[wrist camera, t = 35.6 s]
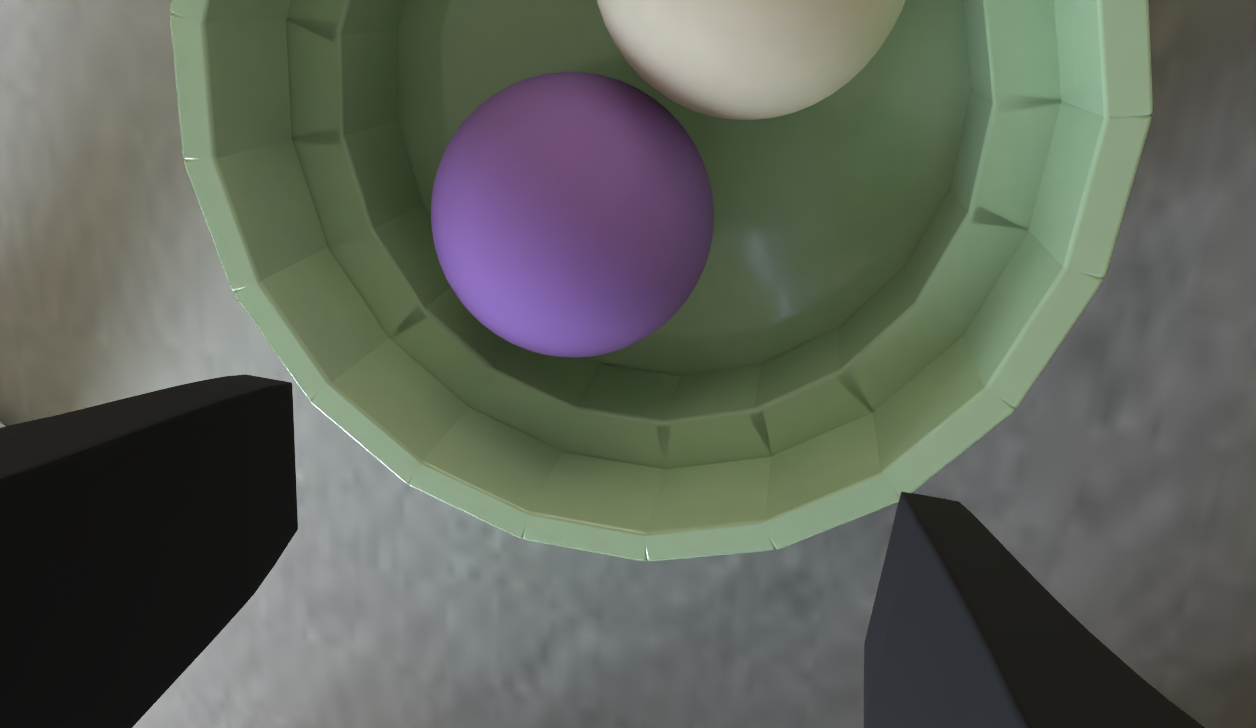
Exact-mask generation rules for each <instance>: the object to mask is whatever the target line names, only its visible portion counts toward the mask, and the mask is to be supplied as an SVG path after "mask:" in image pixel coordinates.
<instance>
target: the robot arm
mask: <svg viewBox="0 0 1256 728" xmlns="http://www.w3.org/2000/svg"><path fill="white" fill-rule="evenodd" d="M297 529H298V522H297V497H296V472H295V447H294V421H293V396H292V383H290V382H284V381H279V380H273V379H267V378H262V377H256V376H251V375H237V376H227V377H220V378H214V379H209V380H203V381H198V382H194V383H189V384H184V385H180V386H175V387H171V388H167V389H163V390H158V391H154V392H150V393H146V394H142V395H138V396H134V397H130V398H125V399H121V400H117V401H113V402H109V403H105V404H101V405H97V406H93V407H89V408H85V409H81V410H77V411H73V412H68V413H64V414H60V415H55V416H51V417H46V418H42V419H37V420H33V421H28V422H24V423H19V424H15V425H10V426H6V427H1V428H0V728H132V727H133V726H134V725H135V724H136V723H137V722H138V720H139V719H140V718H141V717H142V716H143V715H144V714H145V713H146V712H147V711H148V710H149V709H150V707H151V706H152V705H153V704H154V703H155V702H156V701H157V700H158V699H159V698H160V697H161V696H162V694H163V693H164V692H165V691H166V690H167V689H168V688H169V687H170V686H171V685H172V684H173V683H174V681H175V680H176V679H177V678H178V677H179V676H180V675H181V674H182V673H183V672H184V671H185V670H186V668H187V667H188V666H189V665H190V664H191V663H192V662H193V661H194V660H195V659H196V658H197V657H198V656H199V654H200V653H201V652H202V651H203V650H204V649H205V648H206V647H207V646H208V645H209V644H210V643H211V641H212V640H213V639H214V638H215V637H216V636H217V635H218V634H219V633H220V631H221V630H222V629H223V628H224V627H225V626H226V625H227V624H228V623H229V621H230V620H231V619H232V618H233V617H234V616H235V615H236V614H237V613H238V612H239V610H240V609H241V608H242V607H243V606H244V605H245V604H246V602H247V601H248V600H249V599H250V598H251V597H252V596H253V594H254V593H255V592H256V590H257V589H258V588H259V586H260V585H261V583H262V582H263V581H264V579H265V578H266V576H267V575H268V573H269V572H270V571H271V569H272V568H273V566H274V565H275V563H276V562H277V560H278V559H279V557H280V556H281V554H282V553H283V551H284V550H285V548H286V546H287V545H288V543H289V542H290V540H291V539H292V537H293V536H294V534H295V533H296V531H297ZM864 728H1205V727H1203V726H1202V725H1201V724H1199V723H1198V722H1197V721H1196V720H1194V719H1193V718H1192V717H1190V716H1189V715H1188V714H1186V713H1185V712H1184V711H1182V710H1181V709H1180V708H1178V707H1177V706H1176V705H1175V704H1173V703H1172V702H1171V701H1169V700H1168V699H1167V698H1166V697H1164V696H1163V695H1162V694H1161V693H1159V692H1158V691H1157V690H1156V689H1155V688H1153V687H1152V686H1151V685H1150V684H1148V683H1147V682H1146V681H1145V680H1144V679H1142V678H1141V677H1140V676H1139V675H1138V674H1137V673H1135V672H1134V671H1133V670H1132V669H1131V668H1130V667H1129V666H1127V665H1126V664H1125V663H1124V662H1123V661H1122V660H1121V659H1120V658H1118V657H1117V656H1116V655H1115V654H1114V653H1113V652H1112V651H1111V650H1109V649H1108V648H1107V647H1106V646H1105V645H1104V644H1103V643H1102V642H1100V641H1099V640H1098V639H1097V638H1096V637H1095V636H1094V635H1092V634H1091V633H1090V632H1089V631H1088V630H1087V629H1086V628H1085V627H1084V626H1083V625H1082V624H1081V623H1080V622H1079V621H1078V620H1077V619H1075V618H1074V617H1073V616H1072V615H1071V614H1070V613H1069V612H1068V611H1067V610H1066V609H1065V608H1064V607H1063V606H1062V605H1061V604H1060V603H1059V602H1058V601H1057V600H1056V599H1055V598H1054V597H1053V596H1052V595H1051V594H1050V593H1049V592H1048V591H1047V590H1046V589H1045V588H1044V587H1043V586H1042V585H1041V584H1040V583H1039V582H1038V581H1037V580H1036V579H1035V578H1034V577H1033V576H1032V575H1031V574H1030V573H1029V572H1028V571H1027V570H1026V569H1025V568H1024V567H1023V566H1022V565H1021V564H1020V563H1019V562H1018V561H1017V560H1016V559H1015V558H1014V557H1013V556H1012V554H1011V553H1010V552H1009V551H1008V550H1007V549H1006V548H1005V547H1004V546H1003V545H1002V544H1001V543H1000V542H999V541H998V540H997V539H996V538H995V537H994V536H993V535H992V534H991V533H990V532H989V530H988V529H987V528H986V527H985V526H984V525H983V524H982V523H981V522H980V521H979V520H978V519H977V518H976V517H975V516H974V515H973V514H972V513H971V512H970V511H969V510H968V509H967V508H965V507H964V506H963V505H962V504H961V503H960V502H958V501H952V500H947V499H941V498H935V497H930V496H924V495H919V494H913V493H907V492H902V491H901V495H900V499H899V503H898V507H897V512H896V516H895V520H894V524H893V528H892V532H891V536H890V540H889V544H888V549H887V553H886V557H885V561H884V565H883V569H882V573H881V577H880V582H879V586H878V590H877V594H876V598H875V602H874V606H873V610H872V614H871V619H870V623H869V627H868V631H867V635H866V639H865V646H864Z"/></svg>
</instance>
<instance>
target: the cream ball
mask: <svg viewBox="0 0 1256 728" xmlns="http://www.w3.org/2000/svg"><path fill="white" fill-rule="evenodd" d="M597 2H598V6H599V9H600V12H601V14H602V17H603V20H604V23H605V26H606V28H607V30H608V32H609V34H610V36H611V38H612V40H613V42H614V44H615V45H616V47H617V48H618V50H619V51H620V53H621V54H622V55H623V57H624V58H625V60H626V61H627V62H628V63H629V65H630V66H631V67H632V68H633V69H634V70H635V71H636V72H637V74H638V75H639V76H640V77H641V78H642V79H643V80H644V81H645V82H647V83H648V84H649V85H650V86H651V87H653V88H654V89H655V90H656V91H657V92H659V93H660V94H662V95H663V96H665V97H666V98H668V99H670V100H671V101H673V102H674V103H676V104H679V105H681V106H683V107H685V108H687V109H689V110H692V111H695V112H698V113H701V114H705V115H708V116H711V117H718V118H724V119H731V120H760V119H769V118H775V117H779V116H783V115H787V114H791V113H794V112H797V111H799V110H802V109H804V108H807V107H809V106H812V105H814V104H816V103H817V102H819V101H821V100H823V99H825V98H826V97H828V96H830V95H832V94H833V93H834V92H836V91H837V90H839V89H840V88H841V87H843V86H844V85H845V84H847V83H848V82H849V81H850V80H851V79H852V78H854V77H855V76H856V75H857V74H858V73H859V72H860V71H861V70H862V69H863V68H864V67H865V66H866V65H867V64H868V62H869V61H870V60H871V59H872V58H873V56H874V55H875V54H876V53H877V52H878V50H879V49H880V47H881V46H882V44H883V43H884V41H885V40H886V38H887V37H888V35H889V34H890V32H891V31H892V29H893V27H894V25H895V23H896V21H897V19H898V17H899V15H900V13H901V11H902V9H903V6H904V3H905V0H597Z"/></svg>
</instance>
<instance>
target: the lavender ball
mask: <svg viewBox="0 0 1256 728" xmlns="http://www.w3.org/2000/svg"><path fill="white" fill-rule="evenodd" d="M713 225H714V207H713V196H712V190H711V186H710V181H709V177H708V174H707V171H706V168H705V165H704V163H703V160H702V157H701V155H700V154H699V152H698V150H697V148H696V146H695V144H694V142H693V140H692V139H691V137H690V136H689V135H688V133H687V132H686V130H685V129H684V127H683V126H682V125H681V124H680V123H679V121H678V120H677V119H676V118H675V117H674V116H673V115H672V114H671V113H670V112H669V111H668V110H667V109H666V108H665V107H664V106H662V105H661V104H660V103H659V102H658V101H656V100H655V99H654V98H652V97H651V96H649V95H648V94H646V93H644V92H643V91H641V90H640V89H638V88H636V87H634V86H631V85H629V84H627V83H625V82H623V81H620V80H617V79H614V78H610V77H607V76H604V75H599V74H592V73H586V72H557V73H549V74H543V75H539V76H535V77H531V78H527V79H525V80H522V81H520V82H517V83H515V84H512V85H510V86H508V87H506V88H504V89H503V90H501V91H499V92H498V93H496V94H494V95H492V96H491V97H490V98H489V99H487V100H486V101H485V102H483V103H482V104H481V105H480V106H478V107H477V108H476V109H475V110H474V111H473V112H472V113H471V114H470V115H469V116H468V117H467V118H466V119H465V121H464V122H463V123H462V124H461V126H460V127H459V129H458V130H457V131H456V133H455V134H454V135H453V137H452V139H451V141H450V142H449V144H448V146H447V148H446V150H445V152H444V154H443V156H442V159H441V161H440V164H439V167H438V169H437V173H436V177H435V181H434V186H433V191H432V201H431V227H432V233H433V240H434V246H435V249H436V253H437V256H438V259H439V263H440V265H441V268H442V270H443V272H444V274H445V277H446V279H447V281H448V283H449V284H450V286H451V288H452V289H453V291H454V293H455V294H456V296H457V297H458V299H459V300H460V301H461V302H462V304H463V305H464V306H465V307H466V309H467V310H468V311H469V312H470V313H471V314H472V315H473V316H474V317H475V318H476V319H477V320H478V321H479V322H480V323H481V324H483V325H484V326H485V327H487V328H488V329H489V330H490V331H492V332H493V333H494V334H496V335H498V336H499V337H501V338H503V339H505V340H506V341H508V342H510V343H512V344H514V345H517V346H519V347H521V348H524V349H526V350H529V351H533V352H536V353H540V354H543V355H549V356H556V357H569V358H582V357H591V356H599V355H603V354H607V353H611V352H615V351H618V350H620V349H623V348H625V347H628V346H631V345H633V344H635V343H636V342H638V341H640V340H642V339H644V338H646V337H647V336H649V335H650V334H652V333H653V332H654V331H656V330H657V329H659V328H660V327H661V326H663V325H664V324H665V323H666V322H667V321H668V320H669V319H670V318H671V317H672V316H673V315H674V314H676V312H677V311H678V310H679V309H680V308H681V306H682V305H683V304H684V303H685V302H686V300H687V299H688V297H689V296H690V294H691V293H692V291H693V289H694V288H695V286H696V285H697V283H698V281H699V278H700V276H701V274H702V272H703V270H704V268H705V264H706V261H707V258H708V255H709V252H710V247H711V241H712V236H713Z"/></svg>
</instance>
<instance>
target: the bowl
mask: <svg viewBox="0 0 1256 728" xmlns="http://www.w3.org/2000/svg"><path fill="white" fill-rule="evenodd" d="M170 11H171V12H172V14H171V15H170V24H171V35H172V46H173V57H174V67H175V78H176V89H177V99H178V110H179V121H180V131H181V142H182V153H183V157H184V159H186V160H185V161H184V165H185V167H186V170H187V173H188V175H189V178H190V181H191V183H192V186H193V189H194V191H195V194H196V197H197V199H198V202H199V205H200V207H201V210H202V213H203V215H204V218H205V221H206V223H207V226H208V229H209V231H210V234H211V237H212V240H213V242H214V245H215V248H216V250H217V253H218V256H219V258H220V261H221V264H222V266H223V269H224V272H225V274H226V277H227V280H228V282H229V285H230V288H231V289H232V290H233V291H235V292H234V294H235V296H236V298H237V299H238V301H239V302H240V303H241V305H242V306H243V308H244V309H245V310H246V312H247V313H248V315H249V316H250V318H251V319H252V320H253V322H254V323H255V325H256V326H257V328H258V329H259V330H260V332H261V333H262V335H263V336H264V337H265V339H266V340H267V342H268V343H269V345H270V346H271V347H272V349H273V350H274V352H275V353H276V354H277V356H278V357H279V359H280V360H281V362H282V363H283V364H284V366H285V367H286V369H287V370H288V372H289V373H290V374H291V376H292V377H293V379H294V380H295V381H296V383H297V384H298V386H299V387H300V389H301V390H302V391H303V393H304V394H305V396H306V397H307V398H308V399H311V404H313V405H314V406H315V407H316V408H317V409H318V410H320V411H321V412H322V413H323V414H324V415H326V416H327V417H328V418H329V419H330V420H331V421H333V422H334V423H335V424H336V425H337V426H339V427H340V428H341V429H342V430H343V431H344V432H346V433H347V434H348V435H349V436H350V437H351V438H353V439H354V440H355V441H356V442H357V443H359V444H360V445H361V446H362V447H363V448H364V449H366V450H367V451H368V452H369V453H370V454H372V455H373V456H374V457H375V458H376V459H377V460H379V461H380V462H381V463H382V464H383V465H385V466H386V467H387V468H388V469H389V470H390V471H392V472H393V473H394V474H395V475H396V476H398V477H399V478H400V479H401V480H402V481H403V482H405V483H406V484H408V483H409V485H410V486H411V487H413V488H415V489H417V490H419V491H421V492H423V493H425V494H427V495H430V496H432V497H434V498H436V499H438V500H440V501H442V502H444V503H446V504H448V505H451V506H453V507H455V508H457V509H459V510H461V511H463V512H465V513H467V514H469V515H471V516H474V517H476V518H478V519H480V520H482V521H484V522H486V523H488V524H490V525H492V526H495V527H497V528H499V529H501V530H503V531H505V532H507V533H509V534H511V535H513V536H515V537H518V538H523V537H524V539H525V540H529V541H534V542H540V543H545V544H551V545H556V546H562V547H567V548H573V549H578V550H584V551H589V552H595V553H600V554H606V555H611V556H617V557H622V558H628V559H633V560H638V561H646V560H648V561H650V562H653V561H663V560H674V559H685V558H695V557H706V556H717V555H728V554H738V553H749V552H760V551H770V550H774V549H775V548H776V549H781V548H784V547H786V546H789V545H791V544H794V543H796V542H799V541H801V540H804V539H806V538H809V537H811V536H814V535H817V534H819V533H822V532H824V531H827V530H829V529H832V528H834V527H837V526H839V525H842V524H844V523H847V522H849V521H852V520H854V519H857V518H859V517H862V516H865V515H867V514H870V513H872V512H875V511H877V510H880V509H882V508H885V507H887V506H890V505H892V504H895V503H897V502H899V499H900V495H901V491H902V492H907V493H912V492H914V491H915V490H916V489H917V488H919V487H920V486H921V485H923V484H924V483H925V482H926V481H928V480H929V479H930V478H931V477H933V476H934V475H935V474H936V473H938V472H939V471H940V470H941V469H943V468H944V467H945V466H946V465H948V464H949V463H950V462H951V461H953V460H954V459H955V458H957V457H958V456H959V455H960V454H962V453H963V452H964V451H965V450H967V449H968V448H969V447H970V446H972V445H973V444H974V443H975V442H977V441H978V440H979V439H980V438H982V437H983V436H984V435H986V434H987V433H988V432H989V431H991V430H992V429H993V428H994V427H996V426H997V425H998V424H999V423H1001V422H1002V421H1003V420H1004V419H1006V418H1007V417H1008V416H1009V415H1011V414H1012V413H1013V412H1014V411H1015V407H1018V406H1019V405H1020V404H1021V402H1022V401H1023V399H1024V398H1025V396H1026V395H1027V393H1028V392H1029V390H1030V389H1031V388H1032V386H1033V385H1034V383H1035V382H1036V380H1037V379H1038V377H1039V376H1040V374H1041V373H1042V371H1043V370H1044V368H1045V367H1046V365H1047V364H1048V362H1049V361H1050V360H1051V358H1052V357H1053V355H1054V354H1055V352H1056V351H1057V349H1058V348H1059V346H1060V345H1061V343H1062V342H1063V340H1064V339H1065V337H1066V336H1067V335H1068V333H1069V332H1070V330H1071V329H1072V327H1073V326H1074V324H1075V323H1076V321H1077V320H1078V318H1079V317H1080V315H1081V314H1082V312H1083V311H1084V309H1085V308H1086V307H1087V305H1088V304H1089V302H1090V301H1091V299H1092V298H1093V296H1094V295H1095V293H1096V292H1097V290H1098V289H1099V287H1100V286H1101V284H1102V283H1103V279H1102V277H1105V276H1106V274H1107V272H1108V268H1109V265H1110V261H1111V258H1112V254H1113V251H1114V248H1115V244H1116V241H1117V237H1118V234H1119V230H1120V227H1121V224H1122V220H1123V217H1124V213H1125V210H1126V206H1127V203H1128V200H1129V196H1130V193H1131V189H1132V186H1133V182H1134V179H1135V175H1136V172H1137V169H1138V165H1139V162H1140V158H1141V155H1142V151H1143V148H1144V145H1145V141H1146V138H1147V134H1148V131H1149V127H1150V124H1151V121H1152V120H1151V116H1150V114H1152V112H1153V90H1152V67H1151V44H1150V21H1149V0H905V3H904V6H903V9H902V11H901V13H900V15H899V17H898V19H897V21H896V23H895V25H894V27H893V29H892V31H891V32H890V34H889V35H888V37H887V38H886V40H885V41H884V43H883V44H882V46H881V47H880V49H879V50H878V52H877V53H876V54H875V55H874V56H873V58H872V59H871V60H870V61H869V62H868V64H867V65H866V66H865V67H864V68H863V69H862V70H861V71H860V72H859V73H858V74H857V75H856V76H855V77H854V78H852V79H851V80H850V81H849V82H848V83H847V84H845V85H844V86H843V87H841V88H840V89H839V90H837V91H836V92H834V93H833V94H832V95H830V96H828V97H826V98H825V99H823V100H821V101H819V102H817V103H816V104H814V105H812V106H809V107H807V108H804V109H802V110H799V111H797V112H794V113H791V114H787V115H783V116H779V117H775V118H769V119H760V120H731V119H724V118H718V117H711V116H708V115H705V114H701V113H698V112H695V111H692V110H689V109H687V108H685V107H683V106H681V105H679V104H676V103H674V102H673V101H671V100H670V99H668V98H666V97H665V96H663V95H662V94H660V93H659V92H657V91H656V90H655V89H654V88H653V87H651V86H650V85H649V84H648V83H647V82H645V81H644V80H643V79H642V78H641V77H640V76H639V75H638V74H637V72H636V71H635V70H634V69H633V68H632V67H631V66H630V65H629V63H628V62H627V61H626V60H625V58H624V57H623V55H622V54H621V53H620V51H619V50H618V48H617V47H616V45H615V44H614V42H613V40H612V38H611V36H610V34H609V32H608V30H607V28H606V26H605V23H604V20H603V17H602V14H601V12H600V9H599V6H598V2H597V0H171V4H170ZM557 72H586V73H592V74H599V75H604V76H607V77H610V78H614V79H617V80H620V81H623V82H625V83H627V84H629V85H631V86H634V87H636V88H638V89H640V90H641V91H643V92H644V93H646V94H648V95H649V96H651V97H652V98H654V99H655V100H656V101H658V102H659V103H660V104H661V105H662V106H664V107H665V108H666V109H667V110H668V111H669V112H670V113H671V114H672V115H673V116H674V117H675V118H676V119H677V120H678V121H679V123H680V124H681V125H682V126H683V127H684V129H685V130H686V132H687V133H688V135H689V136H690V137H691V139H692V140H693V142H694V144H695V146H696V148H697V150H698V152H699V154H700V155H701V157H702V160H703V163H704V165H705V168H706V171H707V174H708V177H709V181H710V186H711V190H712V196H713V207H714V225H713V236H712V241H711V247H710V252H709V255H708V258H707V261H706V264H705V268H704V270H703V272H702V274H701V276H700V278H699V281H698V283H697V285H696V286H695V288H694V289H693V291H692V293H691V294H690V296H689V297H688V299H687V300H686V302H685V303H684V304H683V305H682V306H681V308H680V309H679V310H678V311H677V312H676V314H674V315H673V316H672V317H671V318H670V319H669V320H668V321H667V322H666V323H665V324H664V325H663V326H661V327H660V328H659V329H657V330H656V331H654V332H653V333H652V334H650V335H649V336H647V337H646V338H644V339H642V340H640V341H638V342H636V343H635V344H633V345H631V346H628V347H625V348H623V349H620V350H618V351H615V352H611V353H607V354H603V355H599V356H591V357H582V358H569V357H556V356H549V355H543V354H540V353H536V352H533V351H529V350H526V349H524V348H521V347H519V346H517V345H514V344H512V343H510V342H508V341H506V340H505V339H503V338H501V337H499V336H498V335H496V334H494V333H493V332H492V331H490V330H489V329H488V328H487V327H485V326H484V325H483V324H481V323H480V322H479V321H478V320H477V319H476V318H475V317H474V316H473V315H472V314H471V313H470V312H469V311H468V310H467V309H466V307H465V306H464V305H463V304H462V302H461V301H460V300H459V299H458V297H457V296H456V294H455V293H454V291H453V289H452V288H451V286H450V284H449V283H448V281H447V279H446V277H445V274H444V272H443V270H442V268H441V265H440V263H439V259H438V256H437V253H436V249H435V246H434V240H433V233H432V227H431V201H432V191H433V186H434V181H435V177H436V173H437V169H438V167H439V164H440V161H441V159H442V156H443V154H444V152H445V150H446V148H447V146H448V144H449V142H450V141H451V139H452V137H453V135H454V134H455V133H456V131H457V130H458V129H459V127H460V126H461V124H462V123H463V122H464V121H465V119H466V118H467V117H468V116H469V115H470V114H471V113H472V112H473V111H474V110H475V109H476V108H477V107H478V106H480V105H481V104H482V103H483V102H485V101H486V100H487V99H489V98H490V97H491V96H492V95H494V94H496V93H498V92H499V91H501V90H503V89H504V88H506V87H508V86H510V85H512V84H515V83H517V82H520V81H522V80H525V79H527V78H531V77H535V76H539V75H543V74H549V73H557Z"/></svg>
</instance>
